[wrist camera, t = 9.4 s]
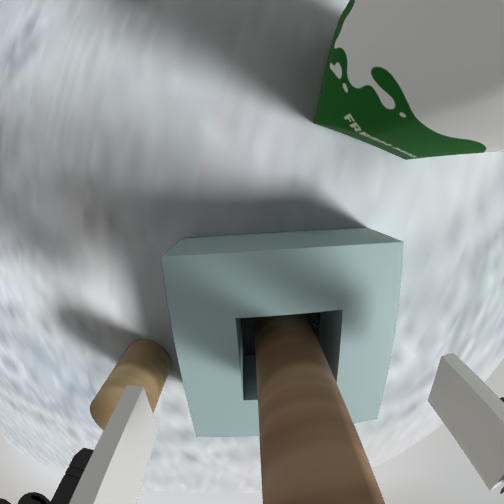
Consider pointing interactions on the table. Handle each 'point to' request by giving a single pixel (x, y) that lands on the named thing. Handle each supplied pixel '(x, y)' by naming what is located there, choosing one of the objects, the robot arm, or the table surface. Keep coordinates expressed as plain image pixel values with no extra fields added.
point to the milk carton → (418, 76)
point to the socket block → (281, 303)
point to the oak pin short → (132, 378)
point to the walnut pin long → (305, 421)
